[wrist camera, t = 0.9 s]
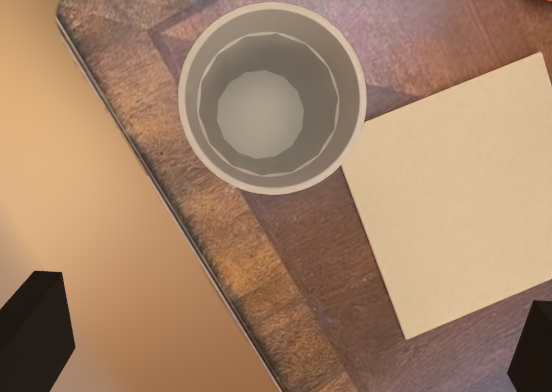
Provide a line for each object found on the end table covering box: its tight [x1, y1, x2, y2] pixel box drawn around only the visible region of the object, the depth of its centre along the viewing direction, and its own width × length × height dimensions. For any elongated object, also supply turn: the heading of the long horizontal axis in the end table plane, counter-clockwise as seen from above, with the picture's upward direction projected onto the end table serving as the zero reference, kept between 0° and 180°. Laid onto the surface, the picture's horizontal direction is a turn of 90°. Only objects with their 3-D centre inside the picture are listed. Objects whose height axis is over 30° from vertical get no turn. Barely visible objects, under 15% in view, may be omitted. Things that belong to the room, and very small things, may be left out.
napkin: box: [340, 52, 552, 340], centre depth 33 cm, size 16×16×1 cm
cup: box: [178, 2, 367, 195], centre depth 25 cm, size 8×8×12 cm
